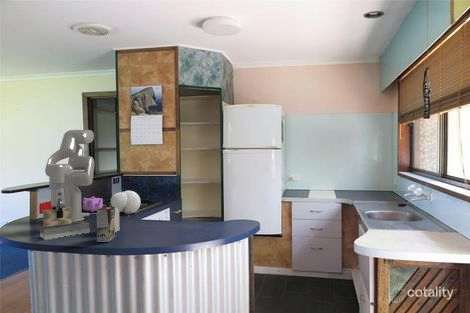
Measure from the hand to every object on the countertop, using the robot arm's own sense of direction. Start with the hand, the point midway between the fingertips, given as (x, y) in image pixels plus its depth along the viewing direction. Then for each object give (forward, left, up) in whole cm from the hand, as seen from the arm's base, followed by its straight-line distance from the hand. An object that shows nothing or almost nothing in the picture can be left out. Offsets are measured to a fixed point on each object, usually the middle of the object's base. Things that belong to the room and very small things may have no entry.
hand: (57, 217), depth 187 cm
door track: (0, +13, -8) cm, 15 cm away
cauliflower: (-49, -18, -8) cm, 53 cm away
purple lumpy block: (-36, -47, -8) cm, 60 cm away
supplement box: (-19, +25, -8) cm, 33 cm away
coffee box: (-11, +40, -8) cm, 43 cm away
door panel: (0, -1, -8) cm, 8 cm away
